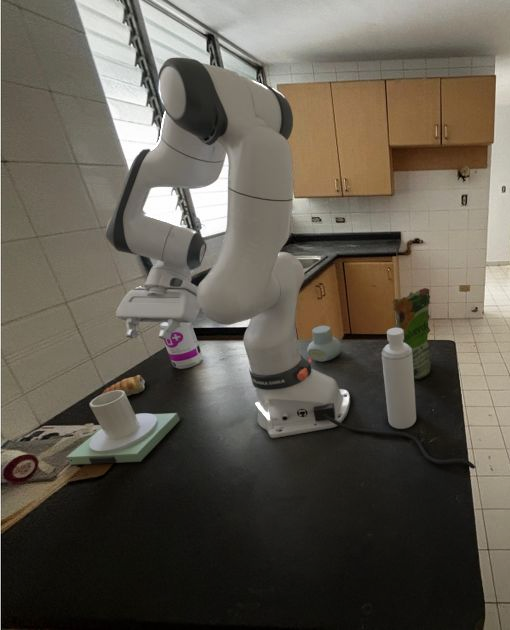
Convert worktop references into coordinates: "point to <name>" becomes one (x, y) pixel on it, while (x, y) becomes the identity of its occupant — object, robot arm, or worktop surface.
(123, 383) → the pastry
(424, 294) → the pouch
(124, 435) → the cup
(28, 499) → the worktop surface
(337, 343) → the air freshener
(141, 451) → the scale
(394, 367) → the white bottle
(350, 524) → the worktop surface
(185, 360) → the supplement can
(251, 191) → the robot arm
